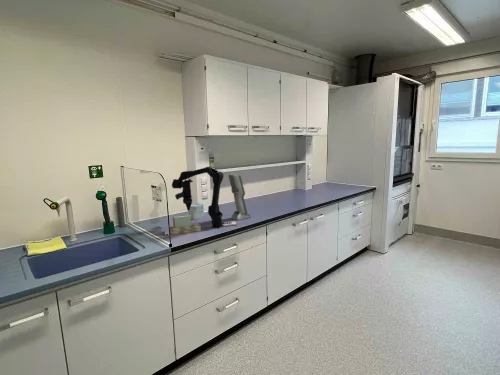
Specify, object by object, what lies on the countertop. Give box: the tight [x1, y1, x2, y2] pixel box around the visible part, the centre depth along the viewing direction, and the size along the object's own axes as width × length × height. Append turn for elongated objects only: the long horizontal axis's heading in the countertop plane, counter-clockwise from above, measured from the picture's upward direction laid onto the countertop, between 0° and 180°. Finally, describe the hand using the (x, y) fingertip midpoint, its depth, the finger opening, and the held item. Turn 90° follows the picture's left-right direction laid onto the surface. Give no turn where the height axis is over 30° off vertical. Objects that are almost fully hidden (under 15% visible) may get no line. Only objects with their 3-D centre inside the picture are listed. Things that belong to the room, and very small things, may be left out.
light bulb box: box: [188, 203, 205, 220], centre depth 218 cm, size 11×7×11 cm, turn 141°
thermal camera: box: [228, 174, 251, 221], centre depth 210 cm, size 12×13×35 cm
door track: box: [169, 222, 202, 235], centre depth 184 cm, size 24×9×4 cm, turn 104°
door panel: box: [172, 214, 192, 228], centre depth 184 cm, size 12×2×9 cm, turn 104°
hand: (188, 209), depth 196 cm, fingers open, 9 cm apart
